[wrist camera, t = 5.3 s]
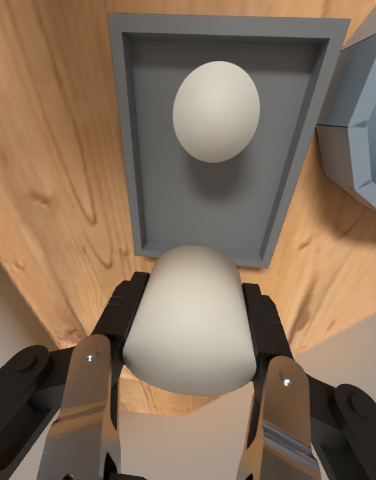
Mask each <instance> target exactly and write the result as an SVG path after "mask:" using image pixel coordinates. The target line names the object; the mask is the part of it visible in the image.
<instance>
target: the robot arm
mask: <svg viewBox="0 0 376 480" xmlns="http://www.w3.org/2000/svg"><path fill="white" fill-rule="evenodd" d="M149 277H150V274H149V273H145V272H134V274H133V276H132V278H131V281H125V280H124V281H123V282H122V283H120V284H119V285H118V286H117V287H116V289H115V291H114V292H113V294H112V297H111V298H110V300H109V302H108V304H107V306H106V308H105V309H104V311H103V313H102V315H101V317H100V319H99V321H98V323H97V325H96V326H95V328H94V330H93V332H92V333H91V335H90V336H88V337H86V338H84V339H83V340H81V341H80V342H79V343H78V344H77V345H76V346H74V347H71V348H66V349H62V350H57V351H52V352H49V351H48V349H47V348H46V347H44V346H42V345H34V346H30V347H27V348H25V349H23V350H21V351H20V352H18V353H17V354H16V355H14V356H13V357H12V358H11V359H10V360H9V361H8V362H7V363H6V364H5V365H4V366H3V367H1V368H0V480H9V478H10V477H11V475H12V474H13V473H14V471H15V470H16V468H17V467H18V466H19V464H20V463H21V461H22V460H23V459H24V457H25V456H26V454H27V453H28V452H29V450H30V449H31V447H32V446H33V445H34V443H35V442H36V440H37V439H38V438H39V436H40V435H41V433H42V432H43V431H44V429H45V428H46V426H47V425H48V424H49V422H50V421H51V419H52V418H53V416H54V415H55V414H56V412H57V411H58V410H59V408H60V407H61V409H60V413H59V416H58V418H57V420H56V421H54V422H53V423H52V425H51V427H50V429H49V431H48V434H47V437H46V441H45V446H44V450H43V454H42V458H41V462H40V467H39V471H38V475H37V479H36V480H147V479H145V478H143V477H139V476H132V475H126V474H121V449H120V437H119V400H120V374H121V371H122V368H123V365H126V364H125V362H124V360H123V349H124V346H125V343H126V340H127V338H128V335H129V332H130V329H131V327H132V324H133V321H134V318H135V316H136V313H137V310H138V307H139V305H140V302H141V299H142V296H143V294H144V291H145V288H146V285H147V283H148V280H149ZM242 289H243V295H244V300H245V306H246V311H247V317H248V322H249V328H250V333H251V339H252V344H253V350H254V355H255V361H256V372H255V375H254V376H253V378H252V379H251V380H250V381H253V385H254V393H253V396H252V403H251V409H250V414H249V420H248V426H247V432H246V438H245V444H244V449H243V453H242V456H241V460H240V463H239V467H238V472H237V477H236V480H321V473H320V468H319V465H318V462H317V460H316V459H315V458H314V456H313V454H312V450H311V443H312V445H313V447H314V449H315V451H316V453H317V455H318V457H319V459H320V461H321V464H322V466H323V468H324V470H325V472H326V474H327V476H328V478H329V480H376V403H375V402H374V400H373V399H372V398H371V397H370V396H369V395H368V394H366V393H365V392H364V391H362V390H361V389H359V388H358V387H356V386H353V385H350V384H341V385H339V386H338V387H337V388H335V387H333V386H330V385H328V384H326V383H323V382H321V381H319V380H316V379H315V378H313V377H311V376H309V375H308V374H306V373H305V371H304V370H303V368H302V367H301V366H300V365H299V364H298V363H297V362H296V361H295V360H294V358H293V356H292V353H291V350H290V347H289V344H288V341H287V338H286V335H285V332H284V329H283V326H282V324H281V321H280V318H279V316H278V312H277V309H276V306H275V304H274V302H273V301H272V300H271V299H270V297H269V296H267V295H261V291H260V288H259V285H258V284H251V283H243V284H242Z"/></svg>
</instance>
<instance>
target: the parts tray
mask: <svg viewBox="0 0 376 480" xmlns="http://www.w3.org/2000/svg"><path fill="white" fill-rule="evenodd" d="M107 17H108V26H109V35H110V43H111V52H112V61H113V69H114V78H115V87H116V95H117V104H118V113H119V121H120V130H121V139H122V147H123V156H124V165H125V173H126V182H127V191H128V199H129V208H130V216H131V225H132V234H133V242H134V251H135V256H145V257H155V258H159V257H161V256H162V255H163V254H164V253H166V252H167V251H169V250H171V249H174V248H177V247H181V246H186V245H200V246H206V247H210V248H213V249H215V250H218V251H220V252H222V253H223V254H225V255H226V256H228V257H229V258H230V259H231V260H232V261H233V262H234V264H235V265H236V266H246V267H256V268H266V269H268V268H269V265H270V262H271V259H272V256H273V253H274V250H275V247H276V244H277V241H278V238H279V235H280V232H281V229H282V226H283V223H284V220H285V217H286V214H287V211H288V208H289V205H290V202H291V199H292V196H293V193H294V190H295V187H296V184H297V181H298V178H299V175H300V171H301V168H302V165H303V162H304V159H305V156H306V153H307V150H308V147H309V144H310V141H311V138H312V135H313V132H314V129H315V126H316V123H317V120H318V117H319V114H320V111H321V108H322V105H323V102H324V99H325V96H326V93H327V90H328V87H329V84H330V81H331V78H332V75H333V72H334V69H335V66H336V63H337V60H338V57H339V54H340V51H341V48H342V45H343V42H344V39H345V36H346V33H347V30H348V27H349V24H350V21H351V19H336V18H295V17H254V16H213V15H172V14H132V13H107ZM214 61H224V62H229V63H232V64H235V65H237V66H239V67H240V68H241V69H243V70H244V71H245V72H246V73H247V74H248V75H249V76H250V78H251V79H252V81H253V83H254V84H255V86H256V89H257V92H258V96H259V102H260V115H259V121H258V125H257V128H256V131H255V133H254V135H253V137H252V139H251V140H250V142H249V143H248V145H247V146H246V147H245V148H244V149H243V150H242V151H241V152H240V153H239V154H237V155H236V156H234V157H233V158H231V159H228V160H226V161H222V162H217V163H210V162H204V161H201V160H198V159H196V158H195V157H193V156H191V155H190V154H189V153H188V152H187V151H186V150H185V149H184V148H183V147H182V145H181V144H180V142H179V140H178V138H177V136H176V133H175V129H174V124H173V107H174V101H175V98H176V95H177V92H178V90H179V88H180V86H181V85H182V83H183V82H184V80H185V79H186V78H187V76H188V75H189V74H190V73H191V72H193V71H194V70H195V69H196V68H198V67H200V66H202V65H204V64H206V63H210V62H214Z"/></svg>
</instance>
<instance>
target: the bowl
mask: <svg viewBox="0 0 376 480" xmlns="http://www.w3.org/2000/svg"><path fill="white" fill-rule="evenodd" d="M316 131H317V137H318V142H319V148H320V153H321V159H322V164H323V170H324V174H325V175H326V176H327V177H328V178H330V179H331V180H332V181H333V182H334V183H336V184H337V185H338V186H339V187H340V188H342V189H343V190H344V191H345V192H347V193H348V194H349V195H350V196H351V197H353V198H354V199H355V200H356V201H358V202H360V203H361V204H363V205H365V206H366V207H368V208H370V209H371V210H373V211H375V212H376V6H375V7H374V8H373V10H372V11H371V12H370V14H369V15H368V16H367V17H366V19H365V20H364V21H363V22H362V24H361V25H360V26H359V27H358V29H357V30H356V31H355V33H354V34H353V35H352V36H351V38H350V39H349V40H348V41H347V43H346V44H345V45H344V46H343V48H342V49H341V51H340V54H339V57H338V60H337V63H336V66H335V69H334V72H333V75H332V78H331V81H330V84H329V87H328V90H327V93H326V96H325V99H324V102H323V105H322V108H321V111H320V114H319V117H318V120H317V123H316Z"/></svg>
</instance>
